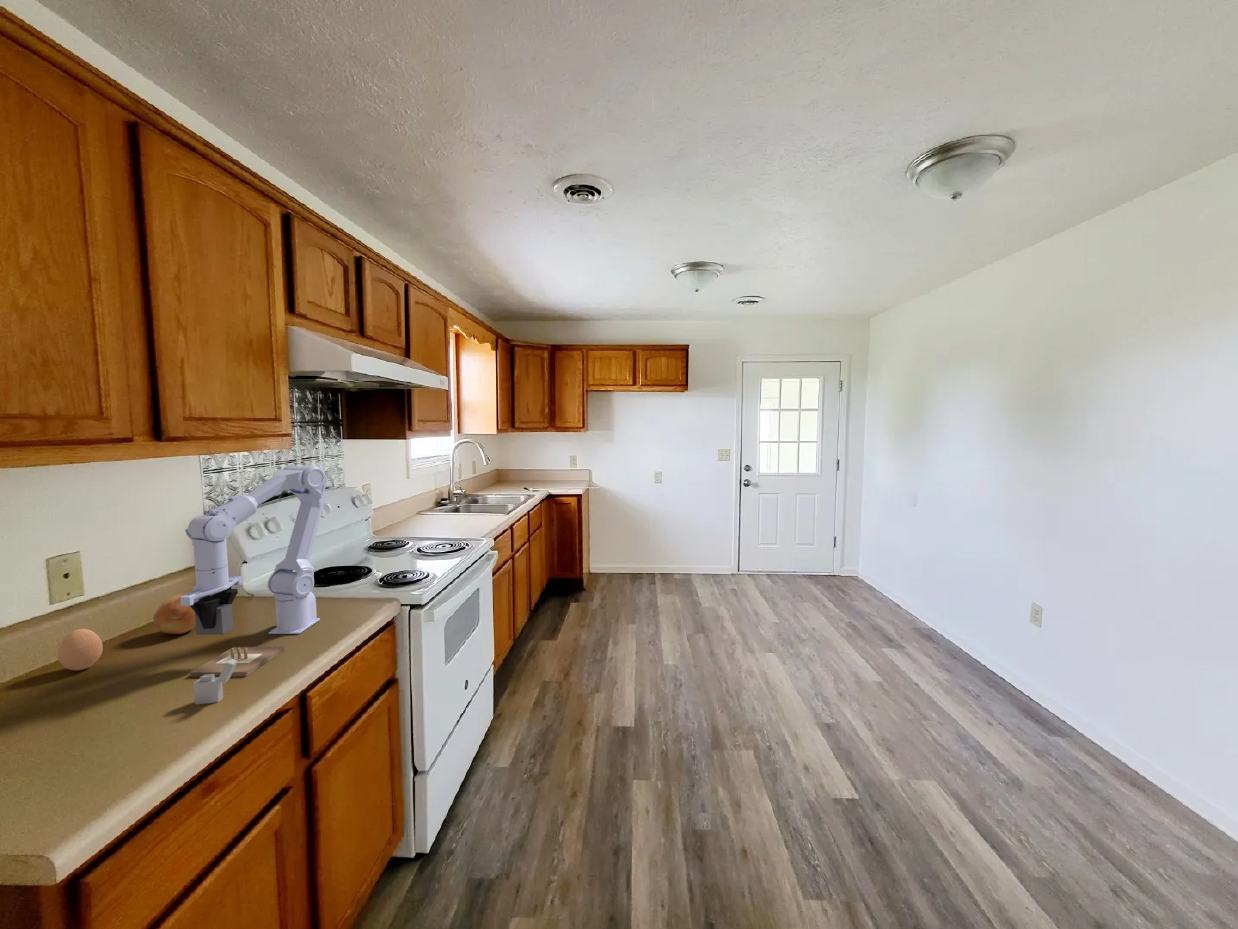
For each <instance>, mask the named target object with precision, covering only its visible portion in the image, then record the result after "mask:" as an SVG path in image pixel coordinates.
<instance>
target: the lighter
mask: <svg viewBox="0 0 1238 929" xmlns="http://www.w3.org/2000/svg"><path fill="white" fill-rule="evenodd" d="M237 662H238V660H234V659H230V660H229V661H227V663H226V664H225V666H224V668H223V670H222V672H221V674H220V676H219V677H215V675H214V674H206V675H203V676H201V677H198V679H197V680H196V681H194V682H193V683H192V684H193V696H194V698H193V699H194V705H195V706H196V705H204V704H214V703H219V702H220V701H222V700H223V699H224V690H223V689H224V687H223V683H224V684H225V683H226V682H228V681H229V680H230V678H231V675H232V672H233V670H234V668H235V666H236V664H237Z"/></svg>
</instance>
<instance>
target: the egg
mask: <svg viewBox="0 0 1238 929" xmlns="http://www.w3.org/2000/svg"><path fill="white" fill-rule="evenodd" d="M103 650H104V646H103V641H102V639H101V637H100V636H99V635H98V634H97V633H96V632H94V631H93V630H91V629H87V628H78V629H76V630H73V631H71V632H70V633H69V634H67V635H66V636H65V637H64V638H63V640H62V641H61V644H60V645H59V647H58V650H57V659H58V661H59V663H60V665H61V666H62V667H64V668H65V669H67V670H71V671H82V670H85V669H86V670H87V669H88V668H91V666H93V665H94V664H96V662H98V660H99V659H100V658H101V656H102V653H103Z"/></svg>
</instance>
